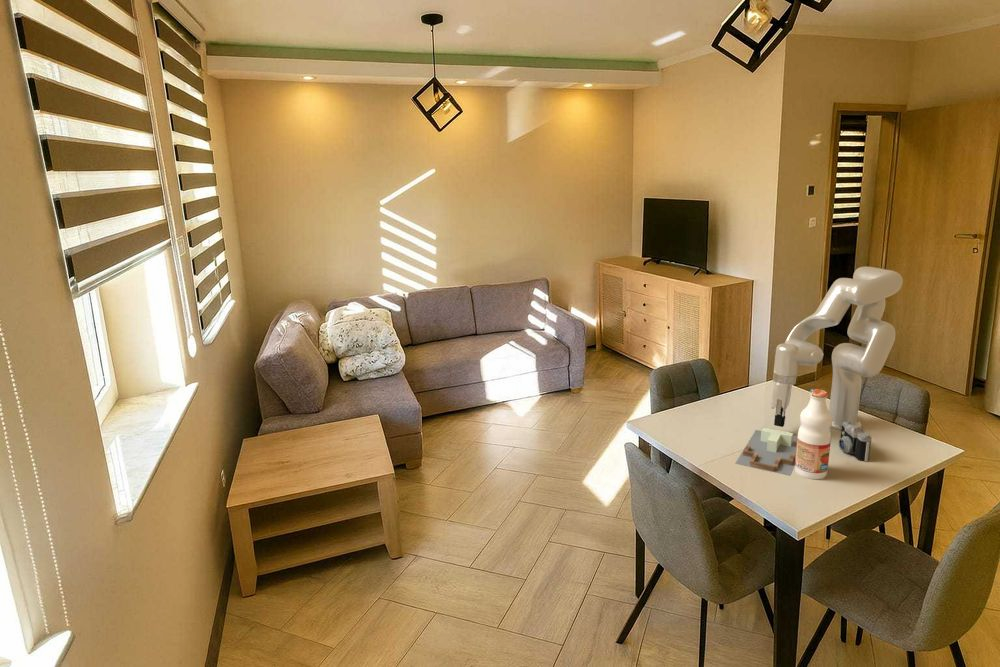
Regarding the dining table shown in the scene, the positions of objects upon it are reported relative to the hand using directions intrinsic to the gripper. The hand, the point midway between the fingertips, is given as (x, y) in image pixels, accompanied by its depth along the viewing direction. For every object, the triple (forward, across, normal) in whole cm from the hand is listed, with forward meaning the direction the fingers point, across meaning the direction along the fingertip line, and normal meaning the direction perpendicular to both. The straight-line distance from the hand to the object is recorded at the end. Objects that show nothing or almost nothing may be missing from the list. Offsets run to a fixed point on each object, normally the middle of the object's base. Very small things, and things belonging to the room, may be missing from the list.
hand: (779, 425), depth 222 cm
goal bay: (+4, +23, +1) cm, 24 cm away
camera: (+4, +2, +23) cm, 24 cm away
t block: (+4, +10, +1) cm, 11 cm away
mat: (+4, +15, +1) cm, 15 cm away
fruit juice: (+4, +25, +14) cm, 29 cm away
